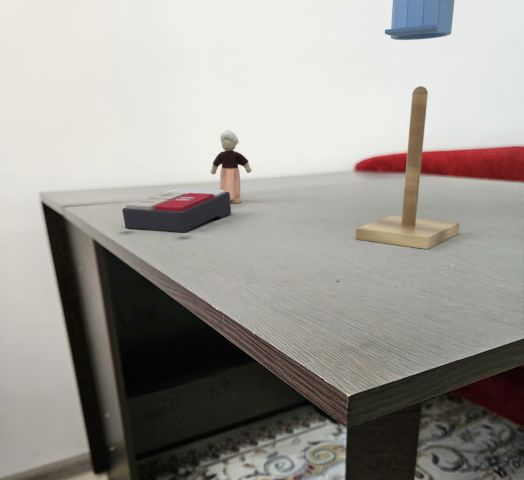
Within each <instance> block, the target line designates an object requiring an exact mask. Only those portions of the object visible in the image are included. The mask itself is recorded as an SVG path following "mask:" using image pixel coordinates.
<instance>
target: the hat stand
mask: <svg viewBox="0 0 524 480" xmlns="http://www.w3.org/2000/svg"><path fill="white" fill-rule="evenodd" d="M428 96H429V93H428V89H427V88H426V87H425V86H421V85H420V86H417V87H415V88H414V89H413V91H412V94H411V104H410V117H409V129H408V138H407V139H408V141H407V150H406V151H407V153H406V165H405V175H404V189H403V199H402V200H403V201H402V213H401V216H399V215H398V216H397V215H389V216H387V217H384V218H381V219H377V220H375V221H373V222H369V223H367V224H364V225H361V226H358V227H356V228H355V240H357V241H366V242H374V243H380V244H387V245H394V246H401V247H408V248H416V249H423V250H429V249H430V248H433V247H435V246H437V245H439V244H441V243H443V242H445V241H447V240H449V239H451V238H453V237H455V236H457V235H459V231H460V223H461V222H455V221H446V220H436V219H427V218H419V217H417V215H418V214H417V212H418V201H419V191H420V181H421V171H422V170H421V169H422V162H423V161H422V160H423V149H424V139H425V128H426V127H425V126H426V118H427V117H426V116H427V107H428V98H429V97H428Z"/></svg>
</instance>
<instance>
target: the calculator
mask: <svg viewBox="0 0 524 480" xmlns="http://www.w3.org/2000/svg"><path fill="white" fill-rule="evenodd" d="M230 202H231V199H230V193H229V192H226V190H220V189H207V188H202V189H201V188H182V187H181V188H180V187H178V188H177V187H176V188H172V189H169V190H167V191H160V192H158V193H154V194H152V195H148V196H146V197H145V198H141V199H137V200H135V201H133V202H129V203H127V204H125V207H123V208H121V209H122V210H121V212H122V216H123V222H124V227H125V229H132V230H146V231H158V232H172V233H173V232H174V233H187V232H188V231H190V230H193V229H195V228H197V227H199V226H201V225H203V224H205V223H207V222H209V221H211V220H213V219H223V218H225V217H227V216H229V215H231V213H232V207H231V205H232V204H231V203H230Z"/></svg>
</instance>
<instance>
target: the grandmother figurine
mask: <svg viewBox="0 0 524 480" xmlns="http://www.w3.org/2000/svg"><path fill="white" fill-rule="evenodd" d="M219 139H220V143H221V147H222V149H223V151H220V152H219V153H218V154H217V155H216V157H215V159H214V160H213V162H212V166H211V169H210V174H211V175H216V173H217V170H218V169H219V167H220V166H221V168H220V175H219V177H220V178H219V179H220V181H219V184H220V186H219V187H220V188H219V190H226V192H229V193H230V204H241V202H242V201H241V199H240V198H241V174H240V173H241V172H240V168H239V166H241V167H243V168H244V169H245V172H246V173H247V174H249V173H251V172H252V168H251V167H250V166H251V165H250V164H249V159H247V158H246V156H244V155H243V154H241V152H238V151H235V149H236V146H237V145H238V144H239V143H240V141H239V138H238V137H237V135H236V133H234V132H233V131H231V130H229V129H228V130H224V131H222V132H221V134H220V138H219Z"/></svg>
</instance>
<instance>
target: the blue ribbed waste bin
mask: <svg viewBox="0 0 524 480" xmlns="http://www.w3.org/2000/svg"><path fill="white" fill-rule="evenodd" d="M454 9H455V0H392V8H391V25H390V26H391V27H390V28H388V29H387V28H386V29H384V35H386V36H387V35H388V36H390V39H392V40H394V41H395V40H396V41H415V40H418V41H419V40H429V39H436V38H442V37H447V36H450V35H451V34H452V30H453V20H454V19H453V18H454Z"/></svg>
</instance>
